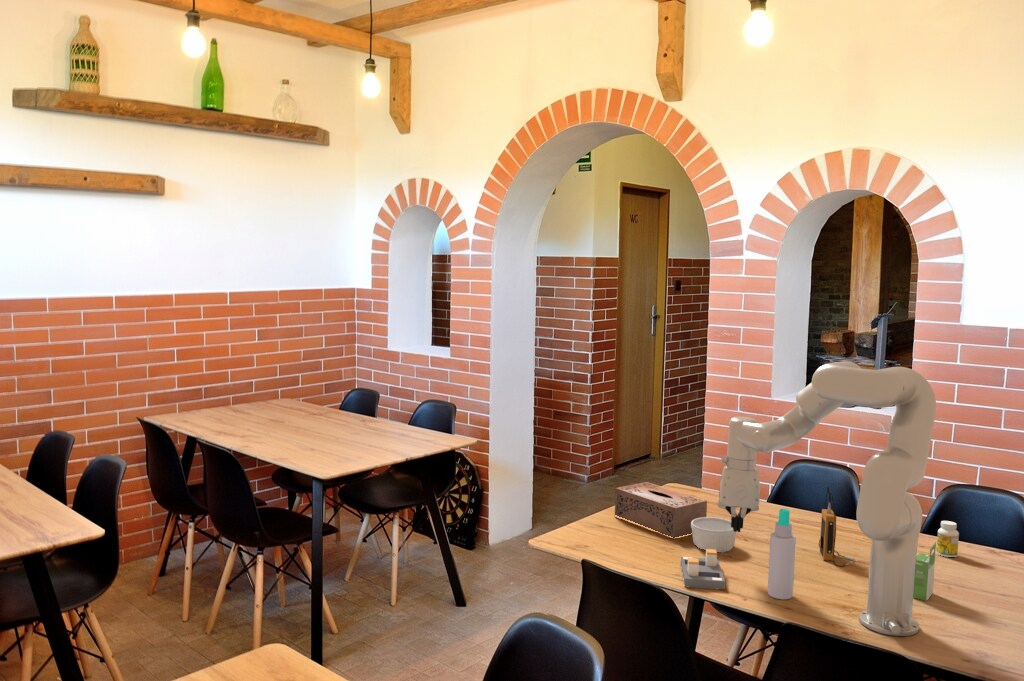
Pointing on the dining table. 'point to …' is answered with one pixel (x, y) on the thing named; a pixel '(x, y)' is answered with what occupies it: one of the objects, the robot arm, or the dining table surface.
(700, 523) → the ramekin
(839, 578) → the dining table surface
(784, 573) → the spray bottle
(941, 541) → the supplement bottle
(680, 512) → the tissue box cover
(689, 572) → the white upright block
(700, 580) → the switch board
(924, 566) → the ink box
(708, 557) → the tab
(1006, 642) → the dining table surface
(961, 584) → the dining table surface
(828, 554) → the multimeter
